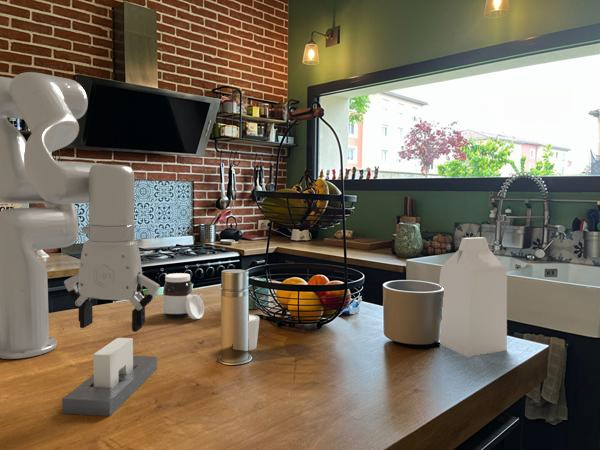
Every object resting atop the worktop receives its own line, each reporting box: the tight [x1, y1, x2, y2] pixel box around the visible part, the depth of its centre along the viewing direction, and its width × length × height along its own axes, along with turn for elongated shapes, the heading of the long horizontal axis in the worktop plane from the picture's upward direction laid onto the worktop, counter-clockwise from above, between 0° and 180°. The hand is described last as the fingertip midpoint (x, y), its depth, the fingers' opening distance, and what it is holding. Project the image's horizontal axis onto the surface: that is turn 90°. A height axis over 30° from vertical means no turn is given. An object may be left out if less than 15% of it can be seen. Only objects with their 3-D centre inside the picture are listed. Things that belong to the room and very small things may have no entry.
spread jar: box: [162, 272, 205, 321], centre depth 134 cm, size 12×11×12 cm
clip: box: [92, 337, 134, 388], centre depth 87 cm, size 3×9×8 cm, turn 175°
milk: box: [438, 236, 508, 358], centre depth 113 cm, size 12×12×26 cm
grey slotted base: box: [61, 355, 158, 417], centre depth 87 cm, size 8×20×2 cm, turn 175°
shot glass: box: [248, 313, 260, 352], centre depth 110 cm, size 7×7×7 cm
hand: (111, 327), depth 86 cm, fingers open, 9 cm apart
